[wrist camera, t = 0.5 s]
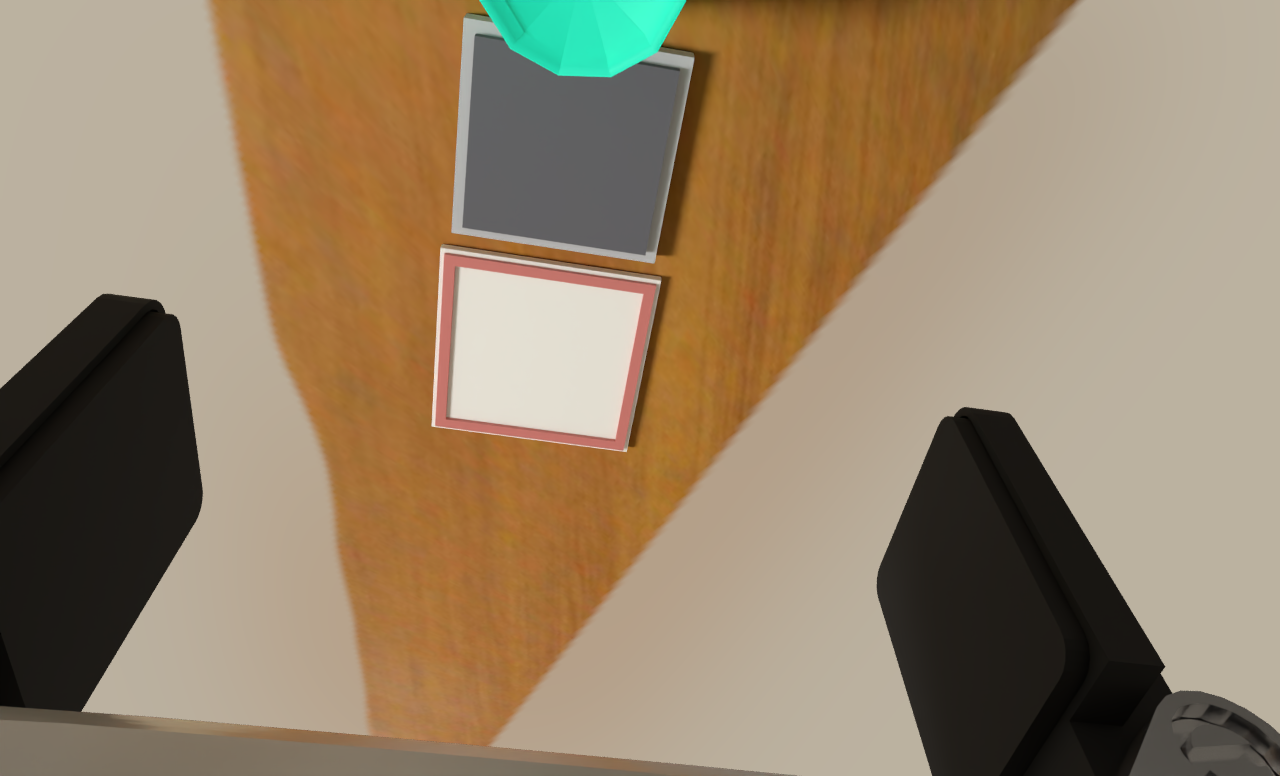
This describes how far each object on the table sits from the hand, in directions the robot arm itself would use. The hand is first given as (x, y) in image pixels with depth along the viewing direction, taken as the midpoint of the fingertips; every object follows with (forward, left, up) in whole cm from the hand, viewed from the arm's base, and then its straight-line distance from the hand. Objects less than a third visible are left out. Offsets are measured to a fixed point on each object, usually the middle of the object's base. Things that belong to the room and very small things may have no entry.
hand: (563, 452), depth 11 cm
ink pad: (+6, -1, -29) cm, 29 cm away
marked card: (+16, -1, -29) cm, 33 cm away
